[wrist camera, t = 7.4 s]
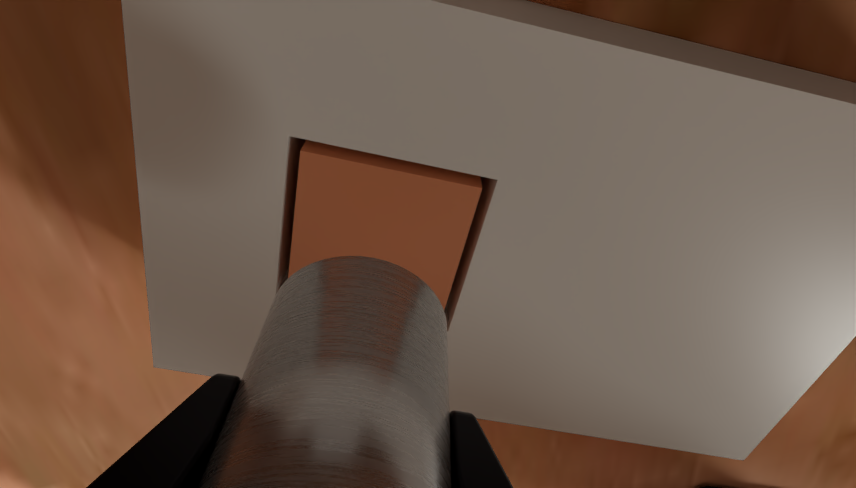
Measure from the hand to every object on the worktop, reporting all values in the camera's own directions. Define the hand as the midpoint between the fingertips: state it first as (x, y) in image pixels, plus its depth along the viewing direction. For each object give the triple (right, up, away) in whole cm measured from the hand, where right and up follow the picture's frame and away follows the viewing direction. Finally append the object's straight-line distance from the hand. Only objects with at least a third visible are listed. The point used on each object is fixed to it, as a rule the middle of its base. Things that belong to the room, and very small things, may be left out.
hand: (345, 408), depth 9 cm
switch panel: (+4, +4, +8) cm, 10 cm away
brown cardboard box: (0, +5, +8) cm, 9 cm away
